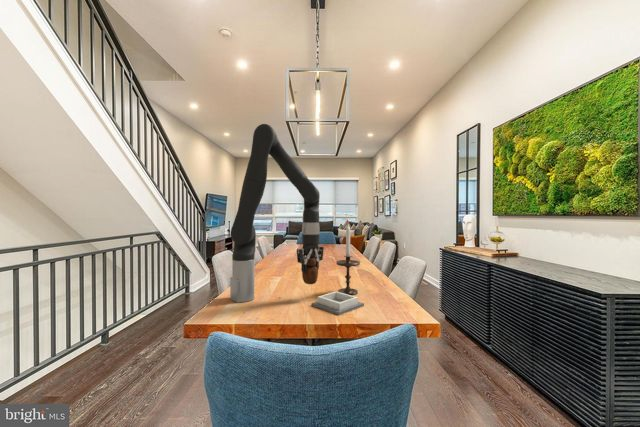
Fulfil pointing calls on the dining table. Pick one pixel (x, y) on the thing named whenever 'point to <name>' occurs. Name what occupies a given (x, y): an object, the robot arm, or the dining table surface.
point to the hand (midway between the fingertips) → (310, 271)
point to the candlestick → (348, 265)
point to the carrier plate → (337, 303)
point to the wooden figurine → (310, 271)
